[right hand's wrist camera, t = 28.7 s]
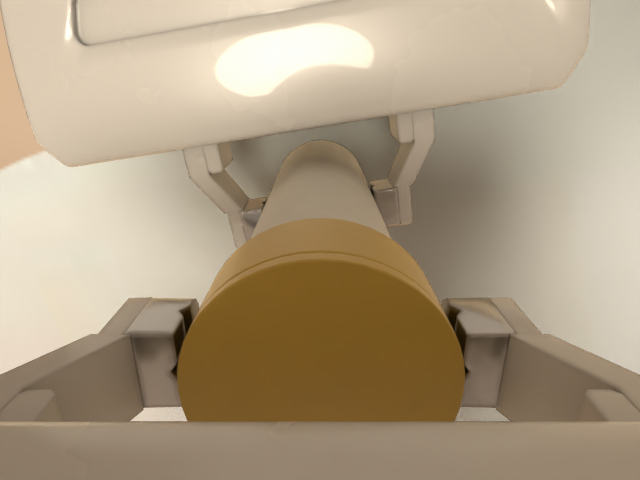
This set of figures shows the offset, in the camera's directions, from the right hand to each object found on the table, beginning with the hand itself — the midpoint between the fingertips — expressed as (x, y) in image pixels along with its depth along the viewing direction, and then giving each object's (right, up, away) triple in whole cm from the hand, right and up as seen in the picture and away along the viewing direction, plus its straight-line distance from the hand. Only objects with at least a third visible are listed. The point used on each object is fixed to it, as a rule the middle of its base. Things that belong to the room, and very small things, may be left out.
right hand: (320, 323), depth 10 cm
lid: (0, -1, -2) cm, 2 cm away
